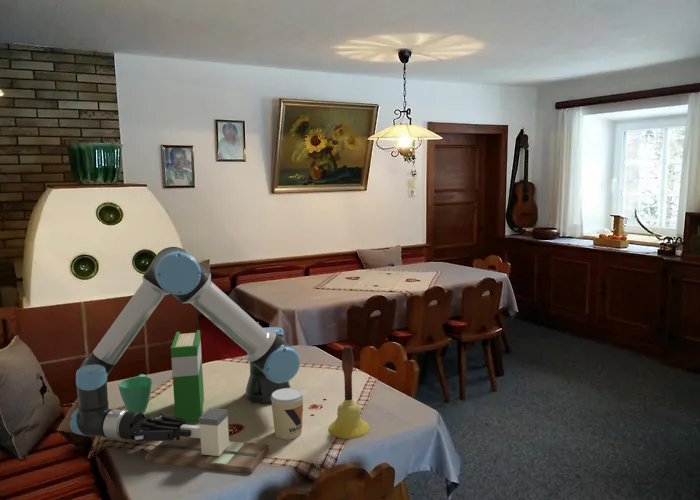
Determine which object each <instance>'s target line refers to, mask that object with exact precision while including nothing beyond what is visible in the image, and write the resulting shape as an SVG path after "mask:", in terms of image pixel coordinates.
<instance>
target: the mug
mask: <svg viewBox="0 0 700 500" xmlns="http://www.w3.org/2000/svg"><path fill="white" fill-rule="evenodd" d="M152 382H153V380H152V378H151V377H148V376H146V374H143V373H141V374H139V375H138V376H135V377H134V376H133V377H130V378H126V379H124V380H122V381H120V382H119V383H118V390H119V393H120V396H121V399H122V402H123V404H124V406H125V409H126V410H127V411H137V412H141V413H143V414H145V413H146V411H147V407H148V406H149V405H148V404H149V401H150V397H151V391H152Z"/></svg>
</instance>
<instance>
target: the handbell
mask: <svg viewBox="0 0 700 500" xmlns="http://www.w3.org/2000/svg"><path fill="white" fill-rule="evenodd" d="M342 348H343V350H342V354H341V355H342V356H341V369H342V373H343V376H344V401H342V402H340V404H339V405H338V406H337V412H336V414H337V417H336V419H335V420H334V421H332V422H331V423H330V424H329V426H328V430H327V431H328V432H329V433H328V434H330V435H332V436H333V437H334V438H335V437H336V438H338V439H344V440H345V439H348V440H349V439H350V440H351V439H359V438H362V437H364V436H366V435H367V434H369V432H370V431H371V427H370V425H369V423H368V422H367V421H365V420H363V418H362V417H361V407H360V405H359V404H358V403H357V402H355V401H354V400H353V376H352V375H353V371H354V365H355V364H354V354H353V348H352V347H351V345H344V346H343V347H342Z"/></svg>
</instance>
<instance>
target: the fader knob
mask: <svg viewBox="0 0 700 500" xmlns="http://www.w3.org/2000/svg"><path fill="white" fill-rule="evenodd" d="M228 416H229V410H228V409H226V408H225V409H222V408H210V407H209V409H208V410H207V411H205V412H204V413H202V416H201V417H200V418H199V422H198V424H199V426H200V437H201V453H202V454H204V455H213V456H220V455H221V453H222V452H223V451H224V450H225V449H226V448H227V447H228V446H229V441H230V437H229V419H228Z"/></svg>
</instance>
